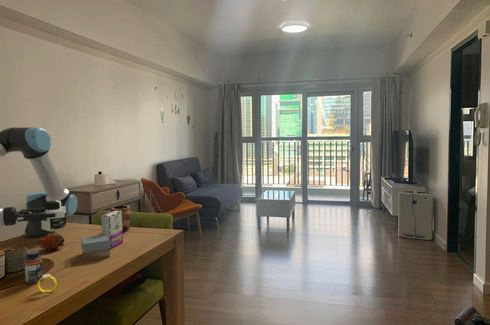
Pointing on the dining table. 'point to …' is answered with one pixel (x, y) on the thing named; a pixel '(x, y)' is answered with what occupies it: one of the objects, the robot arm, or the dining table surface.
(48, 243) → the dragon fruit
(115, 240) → the candy bar box
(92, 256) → the clear shallow container
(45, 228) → the medicine bottle
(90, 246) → the slate block
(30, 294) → the dining table surface
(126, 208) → the decorative planter
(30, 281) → the supplement bottle
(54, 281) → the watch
